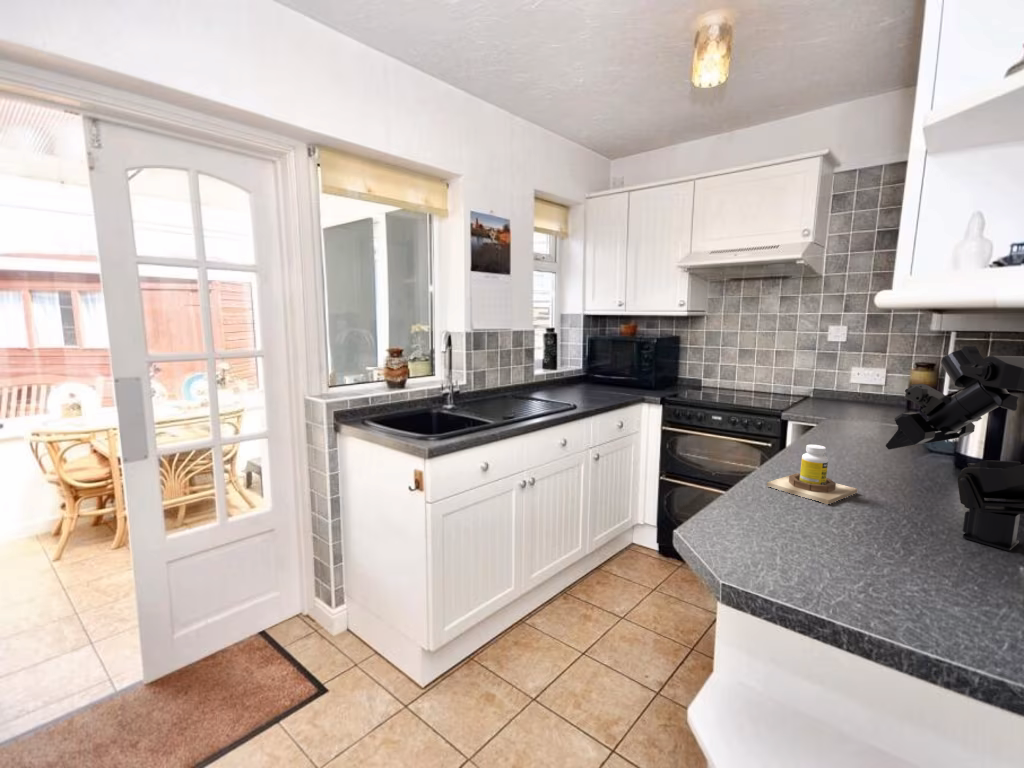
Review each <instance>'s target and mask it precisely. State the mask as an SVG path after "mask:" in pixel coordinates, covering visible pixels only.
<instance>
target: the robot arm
mask: <svg viewBox="0 0 1024 768" xmlns="http://www.w3.org/2000/svg"><path fill="white" fill-rule="evenodd" d="M940 365H941V366H942V368H943V370H944V371H945V372H946V375H947V376H948V377H949V379H950V380H951V382H952V383H953V385H954V386H955V387H958V388H963V389H961V390H960V391H958V392H957V393H954V394H953V395H950V396H948V395H945V393H942V392H941V391H938V390H937V389H935V388H933V387H932V386H929V385H928V384H926V383H918V384H917V383H915V384H912V385H910V386H909V387H908V388H906V389H904V392H905V394H904V399H906V400H907V401H911V402H913V403H914V404H917V405H918V406H920V407H922V408H921V410H920V411H921V412H922V413H923V415H926V419H927V420H926V419H925V418H924V417H923V416H922V414H921V413H919V412H912V411H909V412H903V413H900V414H899V415H897V416H896V417H894V422H895V424H896V425H897V430H896V431H895V433H894V435H892V436H891V438H890V439H889V440H888V442H887V443H886V444H885V447H886V448H887V450H895V449H901V448H907V447H911V446H920V445H925V444H926V445H927V444H930V443H931V444H932V443H937V442H944V441H948V440H949V441H950V440H954V439H960V438H964V437H967V436H969V435H971V434H973V433H974V432H975V429H976V425H975V424H974V422H979V421H980V420H982V419H983V416H984V415H986V414H988V413H990V412H991V411H994V410H995V409H997V408H999V407H1001V408H1002V409H1005V410H1006V409H1007V410H1009V411H1012V412H1016V411H1017V410H1018V400H1019V396H1018V395H1014V394H1012V393H1010V392H1008V390H1014V391H1021V392H1024V355H1023V356H1022V355H1020V356H1019V355H1018V356H1016V355H1013V356H1012V355H988V356H985V357H983V355H981V353H980V351H979V349H978V347H977V346H975V345H964V346H963V347H962V348H961V349H959V350H956V351H952V352H951V353H948V354H947V355H945V356H943V357H942V359H941V361H940ZM967 466H968V467H964V468H962V469H961V470H960V473H959V474H958V477H957V486H958V487H957V488H958V493H959V494H958V496H959V501H960V504H961V505H962V506H964V508H966V509H968V510H966V511H965V512H964V517H963V524H962V525H963V526H962V532H963V534H962V538H963V539H965V540H969V541H973V542H976V543H979V544H982V545H987V546H990V547H994V548H998V549H1001V550H1005V551H1011V550H1013V548H1015V547H1016V546H1017V545H1018V544H1019V543H1020V540H1019V539H1017V538H1018V537H1017V536H1018V532H1019V525H1020V517H1021V515H1024V464H1022V463H1021V462H1020V461H1008V460H1007V461H1006V460H986V459H985V460H982V461H981V460H980V461H978V462H976V463H967ZM986 499H987V500H986ZM988 499H992V500H988ZM993 499H994V500H993ZM1001 500H1002V501H1001ZM1003 500H1004V501H1003Z"/></svg>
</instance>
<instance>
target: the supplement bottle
mask: <svg viewBox="0 0 1024 768" xmlns="http://www.w3.org/2000/svg"><path fill="white" fill-rule="evenodd" d="M805 451H806V452H805V453H803V454H802V456H801V462H800V472H799V474H800V481H802V482H806V483H810V484H820V485H825V484H826V478H827V477H828V476H827V474H828V468H829V467H828V465H829V459H828V457H827V456H826V455H825V454H826V453H827V452H826V451H827V448H826V446H823V445H819V444H807V445H806V447H805Z"/></svg>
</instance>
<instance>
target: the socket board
mask: <svg viewBox="0 0 1024 768" xmlns="http://www.w3.org/2000/svg"><path fill="white" fill-rule="evenodd" d="M767 486H769V487H772V488H775V489H778V490H782V491H785V492H788V493H791V494H795V495H798V496H801V497H800V498H802V497H805V498H809V499H812V500H816V501H819V502H822V503H825V504H830V503H833V502H835V501H838V500H840V499H843V498H845V497H847V496H850V495H852V496H854V495H853V494H855V493H857V494H858V488H855V487H852V486H847V485H844V484H839V483H837V482H835V481H833V480H832V479H831V478H829V477H826V484H825V485H820V484H810V483H806V482H802V481H800V472H799V473H798V472H796V473H793V474H790V475H787V476H783V477H780V478H777V479H774V480H771V481H767V482H766V487H767ZM775 489H774V490H775ZM778 490H777V491H778ZM785 492H784V493H785ZM788 493H787V494H788ZM791 494H790V495H791ZM795 495H794V496H795ZM855 495H856V494H855ZM798 496H797V497H798ZM850 497H851V496H850ZM805 498H804V499H805ZM847 498H848V497H847ZM845 499H846V498H845ZM812 500H811V501H812ZM843 500H844V499H843ZM840 501H841V500H840ZM838 502H839V501H838ZM822 503H821V504H822ZM835 503H836V502H835ZM825 504H824V505H825ZM833 504H834V503H833ZM830 505H831V504H830Z"/></svg>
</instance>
